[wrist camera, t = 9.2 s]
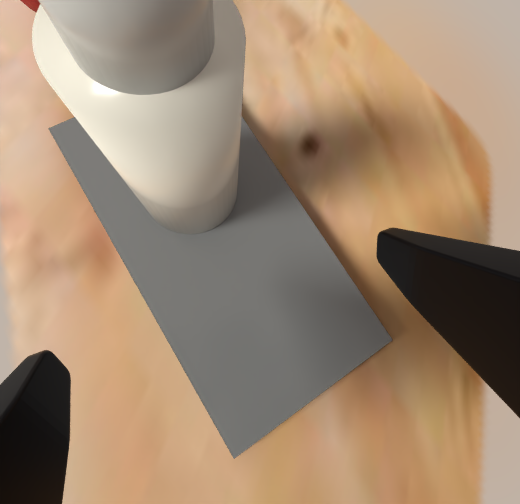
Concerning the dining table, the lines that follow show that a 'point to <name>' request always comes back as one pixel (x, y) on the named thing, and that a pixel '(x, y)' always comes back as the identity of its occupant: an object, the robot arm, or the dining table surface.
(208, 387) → the slate board
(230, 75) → the white bottle
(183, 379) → the dining table surface
